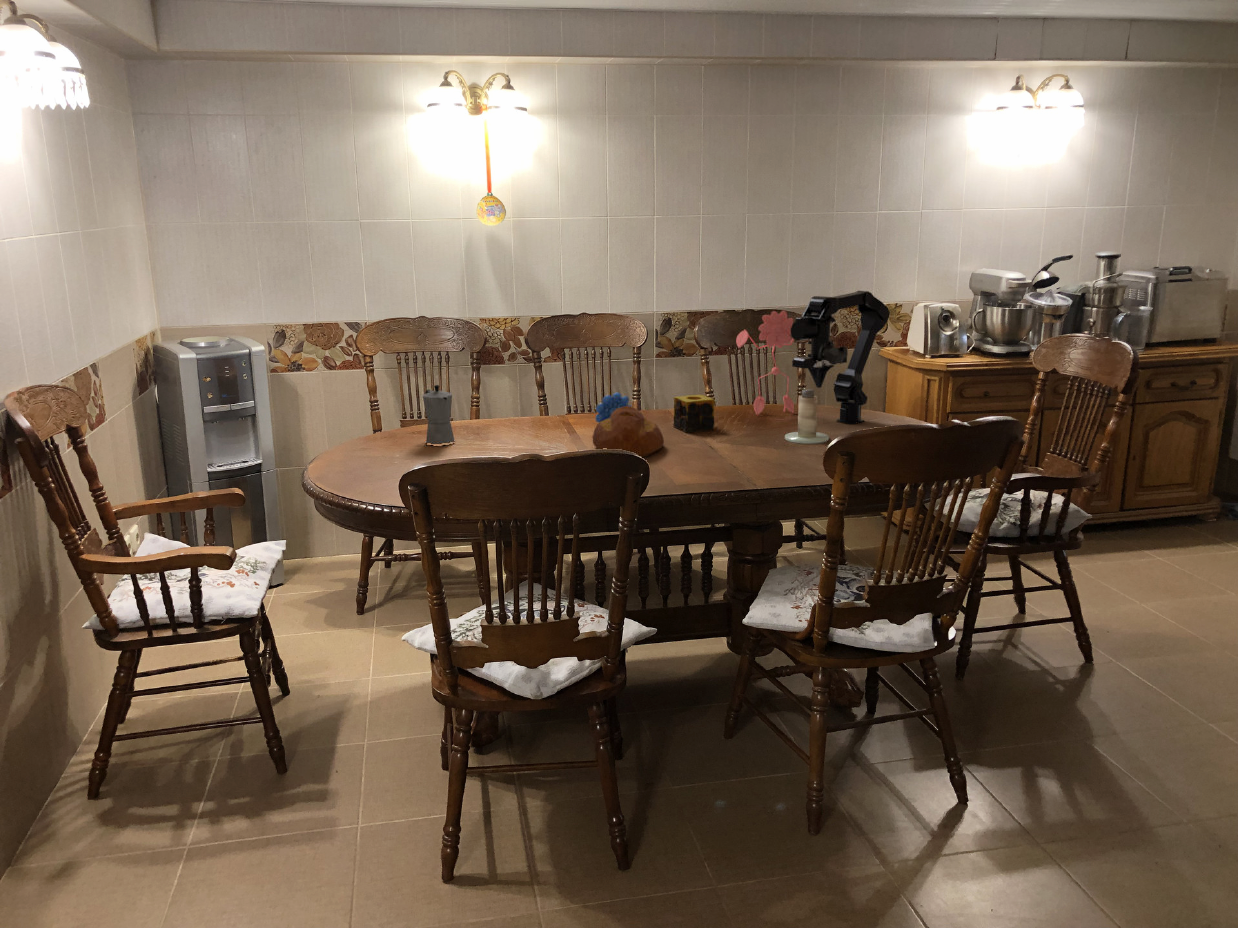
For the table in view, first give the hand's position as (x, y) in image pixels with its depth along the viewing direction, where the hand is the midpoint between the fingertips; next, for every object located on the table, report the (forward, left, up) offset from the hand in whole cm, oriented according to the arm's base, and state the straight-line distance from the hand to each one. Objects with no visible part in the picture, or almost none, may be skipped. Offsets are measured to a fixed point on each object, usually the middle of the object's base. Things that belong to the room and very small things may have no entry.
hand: (818, 387), depth 307 cm
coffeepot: (+102, -60, -13) cm, 119 cm away
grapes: (+50, -41, -13) cm, 66 cm away
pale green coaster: (+13, +8, -13) cm, 20 cm away
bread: (+62, -17, -13) cm, 65 cm away
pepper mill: (+13, +8, -12) cm, 19 cm away
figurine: (-3, -22, -13) cm, 26 cm away
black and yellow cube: (+30, -25, -13) cm, 41 cm away
